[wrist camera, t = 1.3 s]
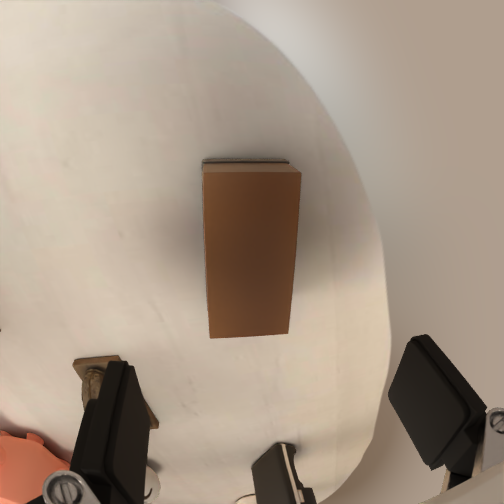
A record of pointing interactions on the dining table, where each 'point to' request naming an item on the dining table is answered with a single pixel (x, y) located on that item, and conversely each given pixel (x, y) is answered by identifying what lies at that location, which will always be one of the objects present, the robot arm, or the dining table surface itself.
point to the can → (247, 500)
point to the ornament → (151, 485)
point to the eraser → (249, 244)
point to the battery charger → (279, 478)
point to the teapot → (25, 467)
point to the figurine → (92, 380)
